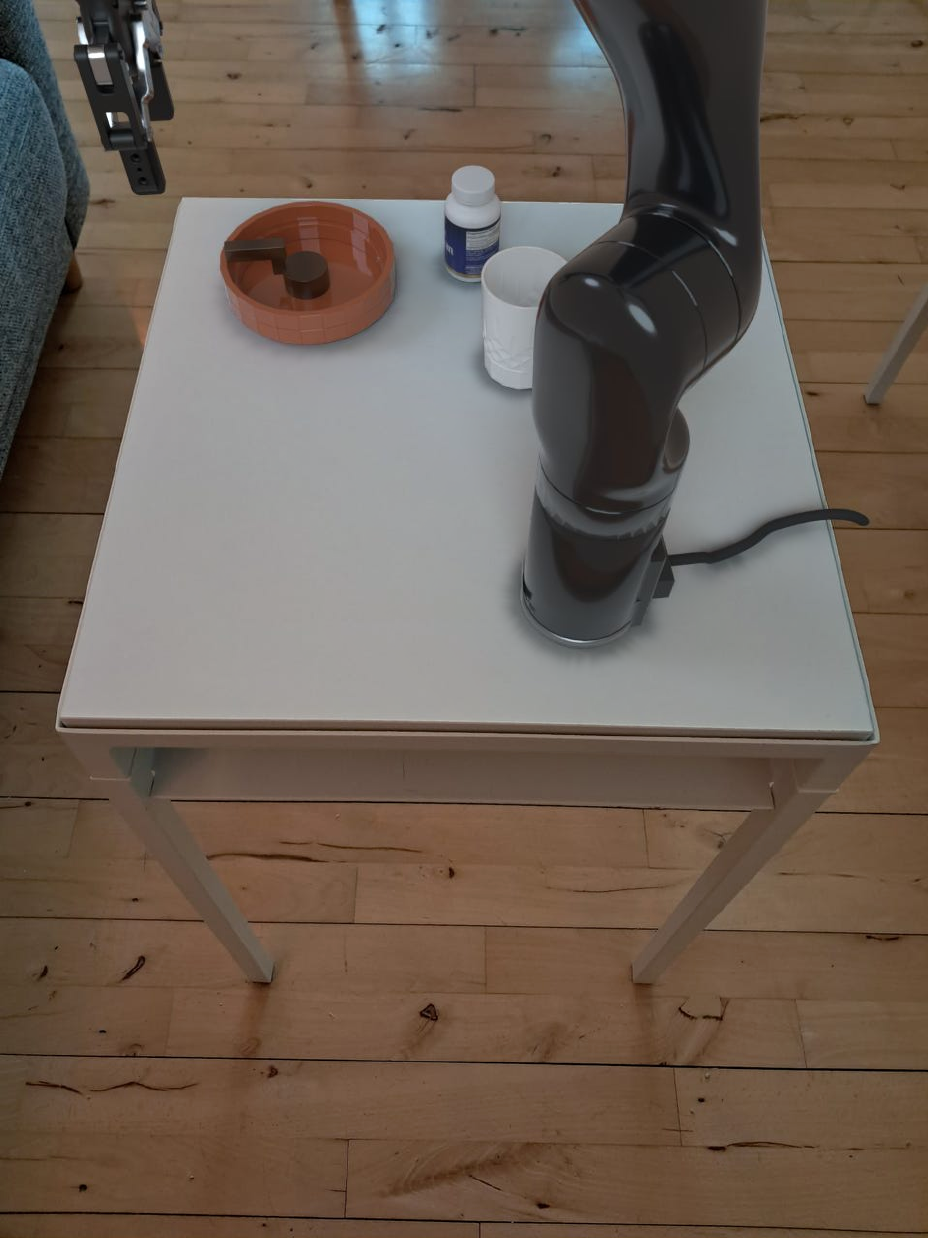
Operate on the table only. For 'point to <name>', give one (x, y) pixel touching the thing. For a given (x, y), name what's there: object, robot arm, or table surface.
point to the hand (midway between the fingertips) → (155, 153)
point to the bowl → (353, 266)
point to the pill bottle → (471, 223)
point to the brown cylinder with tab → (284, 264)
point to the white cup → (514, 310)
